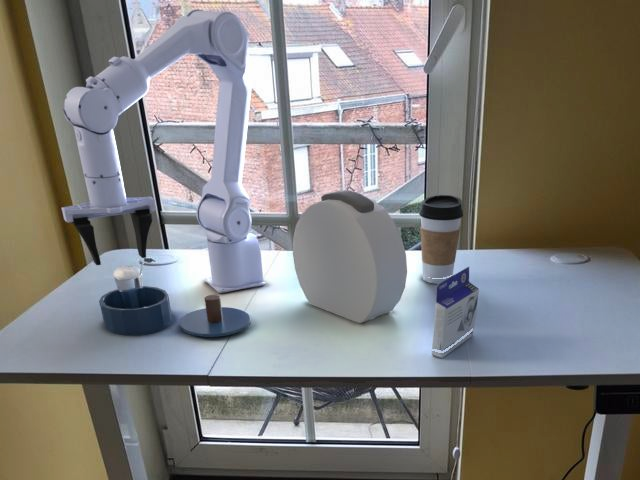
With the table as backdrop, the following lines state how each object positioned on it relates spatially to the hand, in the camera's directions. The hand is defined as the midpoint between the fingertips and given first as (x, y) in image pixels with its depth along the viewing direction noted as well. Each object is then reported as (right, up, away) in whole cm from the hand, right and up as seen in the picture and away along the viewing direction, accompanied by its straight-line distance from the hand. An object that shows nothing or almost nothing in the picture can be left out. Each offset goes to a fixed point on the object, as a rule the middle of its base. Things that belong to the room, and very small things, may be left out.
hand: (120, 259), depth 125 cm
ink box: (+57, -16, -4) cm, 59 cm away
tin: (+3, -10, +2) cm, 11 cm away
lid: (+16, -11, +1) cm, 19 cm away
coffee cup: (+56, +4, +22) cm, 60 cm away
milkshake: (+3, -10, +2) cm, 10 cm away
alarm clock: (+39, -6, +9) cm, 40 cm away
